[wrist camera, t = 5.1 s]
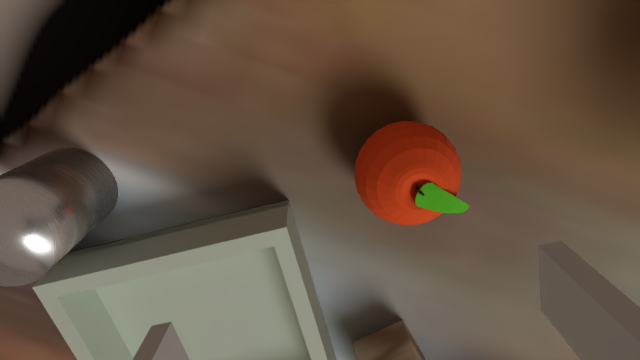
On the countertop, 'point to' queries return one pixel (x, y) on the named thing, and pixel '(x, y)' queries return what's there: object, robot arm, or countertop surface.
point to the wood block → (388, 345)
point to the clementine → (409, 173)
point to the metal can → (50, 210)
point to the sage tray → (194, 291)
